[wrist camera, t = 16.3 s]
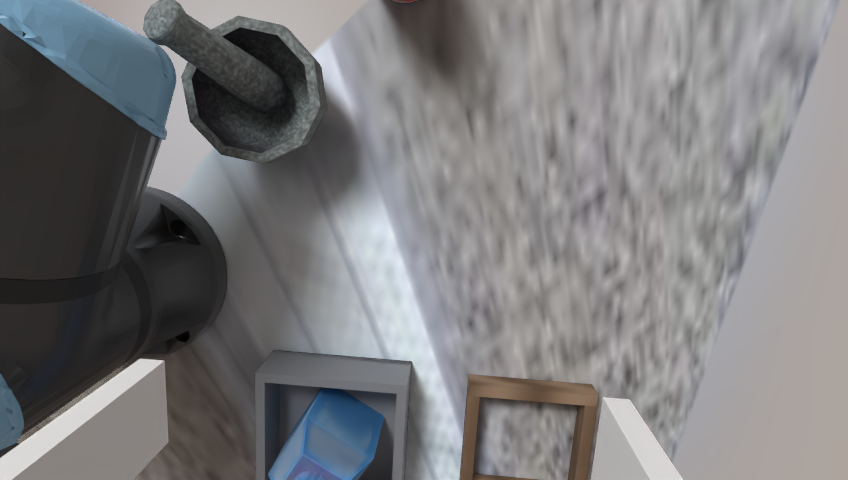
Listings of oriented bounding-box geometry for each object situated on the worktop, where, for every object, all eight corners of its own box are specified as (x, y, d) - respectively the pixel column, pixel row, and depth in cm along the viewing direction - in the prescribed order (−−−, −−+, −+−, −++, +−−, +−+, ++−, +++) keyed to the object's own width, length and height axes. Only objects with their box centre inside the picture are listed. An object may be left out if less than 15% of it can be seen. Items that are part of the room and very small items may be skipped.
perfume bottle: (348, 465, 47) (313, 574, 35) (292, 430, 47) (238, 529, 35) (384, 416, 46) (360, 512, 34) (326, 379, 46) (282, 464, 34)
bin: (274, 472, 49) (256, 505, 44) (273, 350, 46) (254, 372, 42) (404, 484, 48) (399, 519, 44) (411, 361, 46) (406, 385, 41)
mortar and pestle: (365, 104, 41) (330, 92, 30) (286, 181, 43) (223, 199, 31) (268, -4, 40) (191, -62, 28) (190, 79, 42) (87, 57, 30)
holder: (459, 481, 48) (459, 496, 46) (468, 374, 45) (469, 385, 44) (577, 492, 47) (582, 508, 45) (592, 384, 45) (598, 395, 43)
